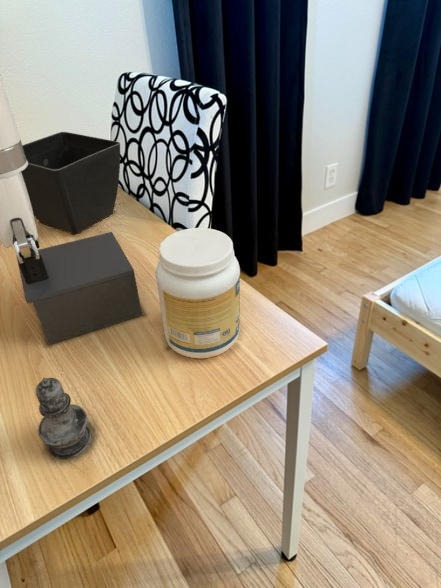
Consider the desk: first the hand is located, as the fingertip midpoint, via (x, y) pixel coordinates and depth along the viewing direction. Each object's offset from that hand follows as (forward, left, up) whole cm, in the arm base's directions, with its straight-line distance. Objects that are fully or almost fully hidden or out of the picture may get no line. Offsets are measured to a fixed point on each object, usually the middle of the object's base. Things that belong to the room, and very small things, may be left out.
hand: (33, 264), depth 67 cm
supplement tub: (+21, -16, -11) cm, 29 cm away
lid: (+6, 0, -2) cm, 6 cm away
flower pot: (+11, +35, -11) cm, 38 cm away
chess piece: (-2, -26, -11) cm, 28 cm away
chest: (+6, 0, -11) cm, 13 cm away
